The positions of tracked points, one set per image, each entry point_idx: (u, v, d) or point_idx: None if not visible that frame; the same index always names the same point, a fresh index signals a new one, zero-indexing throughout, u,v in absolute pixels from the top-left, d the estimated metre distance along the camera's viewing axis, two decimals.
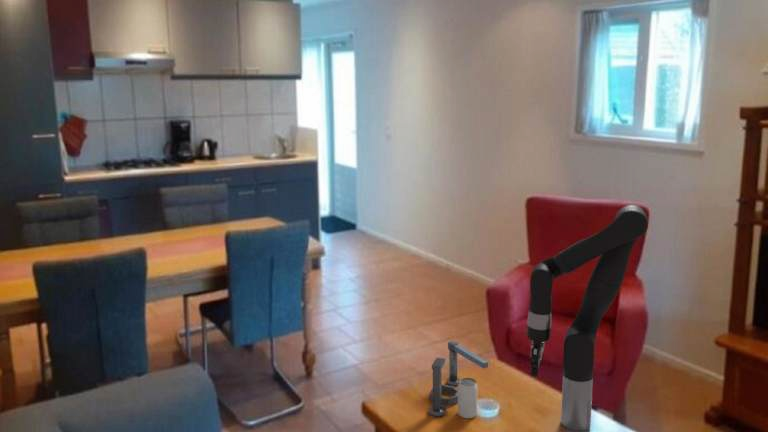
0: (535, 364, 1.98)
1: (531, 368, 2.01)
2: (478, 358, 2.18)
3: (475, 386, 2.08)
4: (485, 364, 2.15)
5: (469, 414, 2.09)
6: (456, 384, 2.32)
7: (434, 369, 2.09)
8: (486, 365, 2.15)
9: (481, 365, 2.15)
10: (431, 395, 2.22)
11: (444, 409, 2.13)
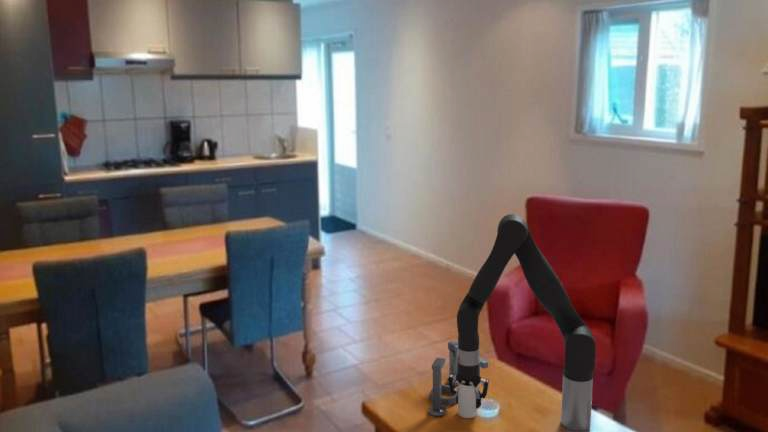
0: (485, 393, 2.09)
1: (478, 402, 2.09)
2: None
3: None
4: (485, 364, 2.15)
5: (469, 414, 2.09)
6: (456, 384, 2.32)
7: (434, 369, 2.09)
8: (486, 365, 2.15)
9: (481, 365, 2.15)
10: (431, 395, 2.22)
11: (444, 409, 2.13)
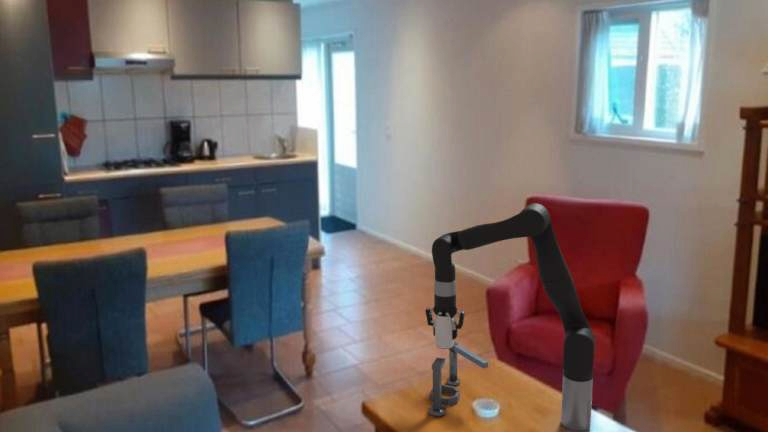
0: (461, 325, 2.15)
1: (454, 333, 2.15)
2: (478, 358, 2.18)
3: None
4: (485, 364, 2.15)
5: (445, 345, 2.15)
6: (456, 384, 2.32)
7: (434, 369, 2.09)
8: (486, 365, 2.15)
9: (481, 365, 2.15)
10: (431, 395, 2.22)
11: (444, 409, 2.13)
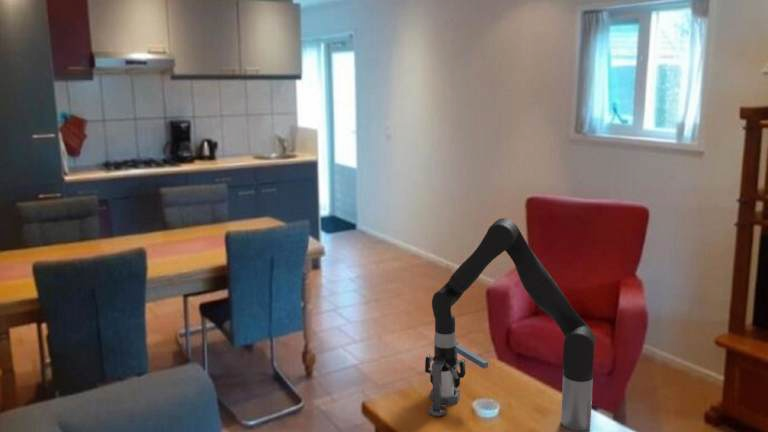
0: (464, 373, 2.19)
1: (456, 381, 2.19)
2: (478, 358, 2.18)
3: None
4: (485, 364, 2.15)
5: None
6: None
7: (434, 369, 2.09)
8: (486, 365, 2.15)
9: (481, 365, 2.15)
10: (431, 395, 2.22)
11: (444, 409, 2.13)
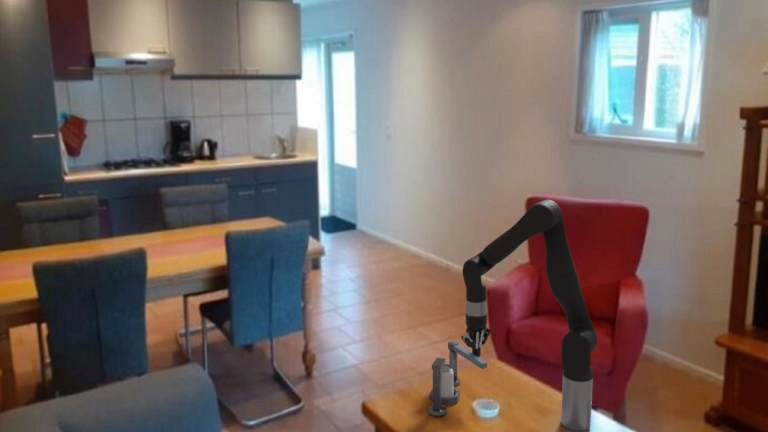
0: None
1: (479, 350, 2.23)
2: (477, 358, 2.18)
3: (451, 371, 2.19)
4: (484, 364, 2.14)
5: None
6: (456, 384, 2.32)
7: (434, 369, 2.09)
8: (485, 365, 2.15)
9: (480, 365, 2.15)
10: (431, 395, 2.22)
11: (444, 409, 2.13)
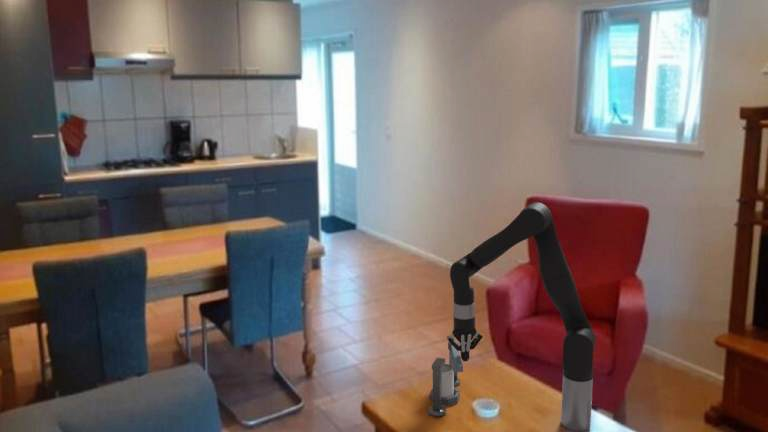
0: None
1: (467, 354, 2.20)
2: (458, 361, 2.16)
3: (451, 371, 2.19)
4: (459, 368, 2.12)
5: None
6: (456, 384, 2.32)
7: (434, 369, 2.09)
8: (460, 369, 2.12)
9: (456, 368, 2.14)
10: (431, 395, 2.22)
11: (444, 409, 2.13)
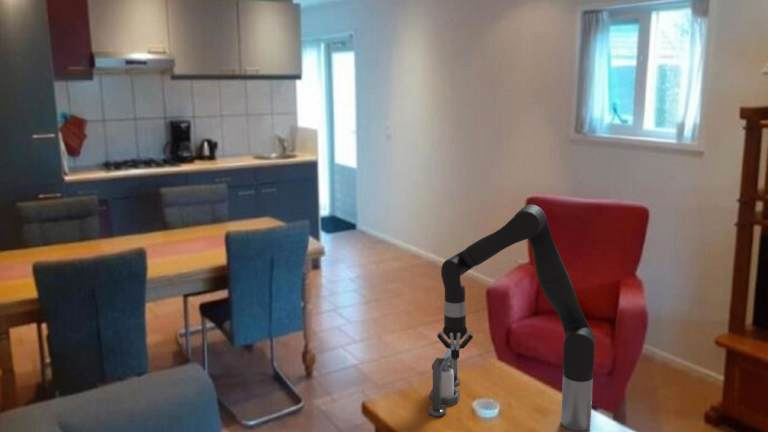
0: None
1: (457, 353, 2.19)
2: None
3: (451, 372, 2.19)
4: None
5: None
6: (456, 384, 2.32)
7: (434, 369, 2.09)
8: (442, 368, 2.13)
9: None
10: (431, 395, 2.22)
11: (444, 409, 2.13)
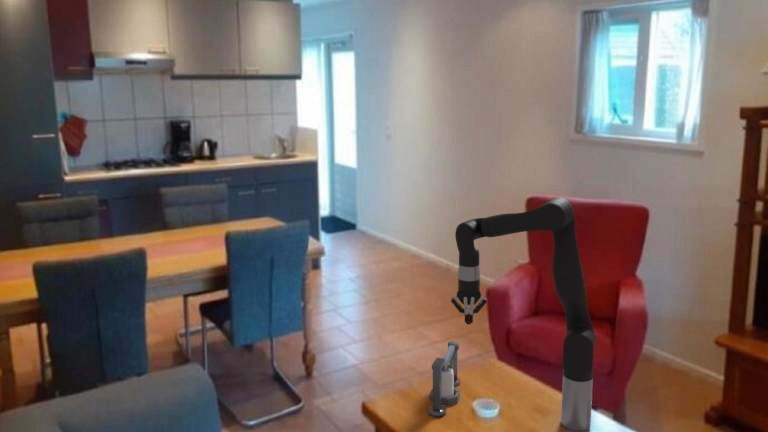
0: None
1: (470, 318, 2.19)
2: None
3: (451, 371, 2.19)
4: None
5: None
6: (456, 384, 2.32)
7: (434, 369, 2.09)
8: (442, 368, 2.13)
9: None
10: (431, 395, 2.22)
11: (444, 409, 2.13)
